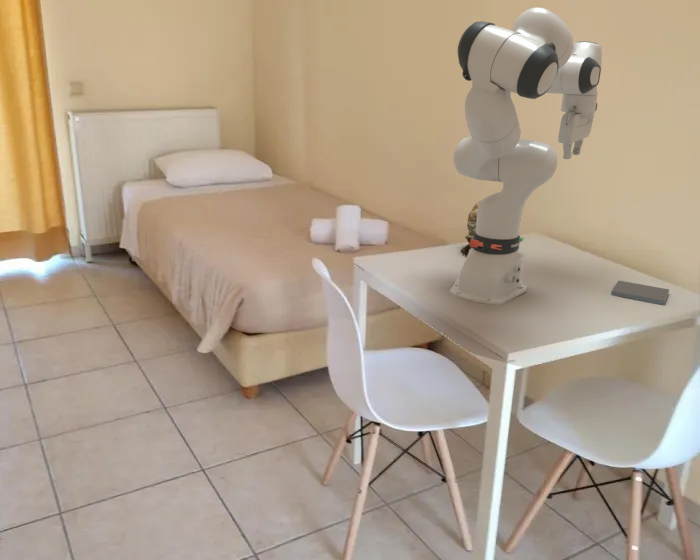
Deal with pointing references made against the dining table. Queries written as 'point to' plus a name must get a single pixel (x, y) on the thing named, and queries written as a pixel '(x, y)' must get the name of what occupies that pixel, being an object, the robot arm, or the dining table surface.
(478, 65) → the robot arm
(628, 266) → the dining table surface
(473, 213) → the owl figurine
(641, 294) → the plate
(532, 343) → the dining table surface
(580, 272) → the dining table surface
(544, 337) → the dining table surface
